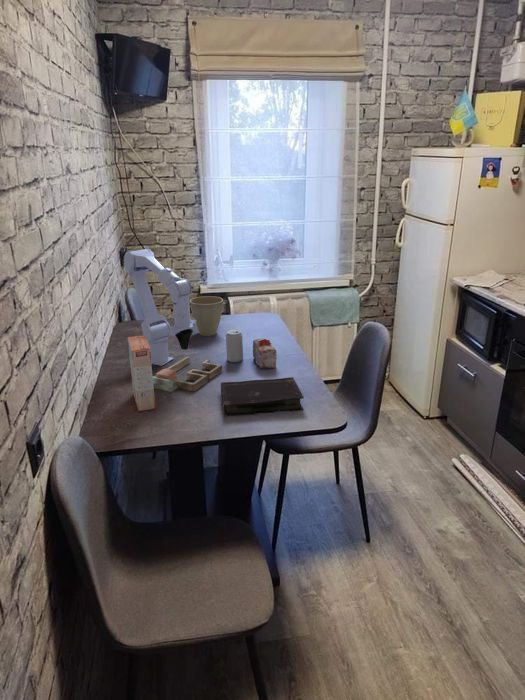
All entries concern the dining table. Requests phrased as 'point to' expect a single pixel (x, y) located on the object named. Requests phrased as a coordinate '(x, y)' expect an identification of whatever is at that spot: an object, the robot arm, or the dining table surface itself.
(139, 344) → the cracker box
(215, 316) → the plant pot
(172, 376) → the block
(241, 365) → the dining table surface
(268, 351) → the food item
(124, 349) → the dining table surface
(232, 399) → the diary
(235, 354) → the beverage can
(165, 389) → the trap lane
